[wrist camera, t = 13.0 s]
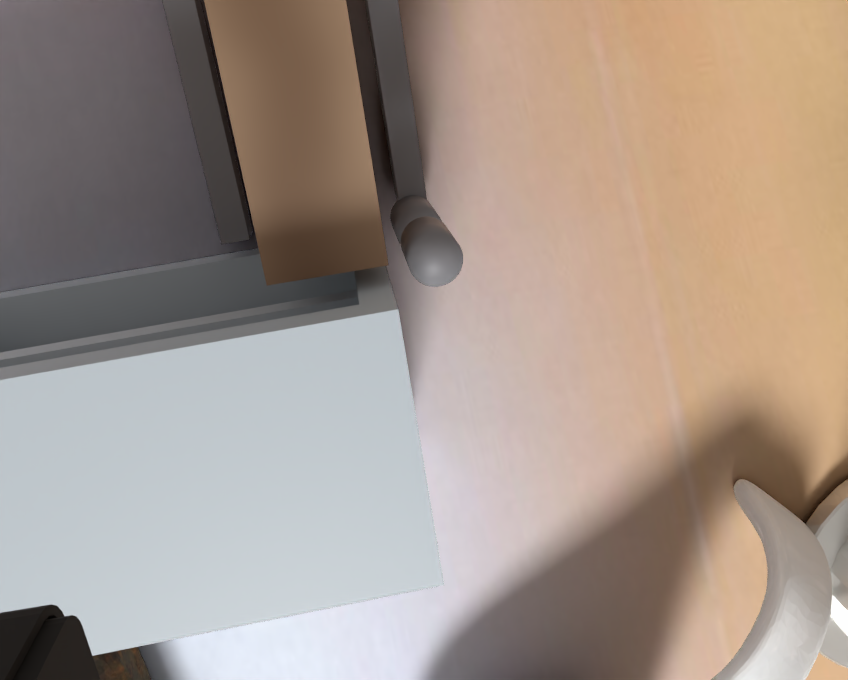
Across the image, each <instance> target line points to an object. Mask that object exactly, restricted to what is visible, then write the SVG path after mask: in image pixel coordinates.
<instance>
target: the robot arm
mask: <svg viewBox="0 0 848 680" xmlns="http://www.w3.org/2000/svg"><path fill="white" fill-rule="evenodd" d="M806 525H807V526H808V527H809V529H810V530H811V531H812V532H813V534H814V535H815V536H816V538H817V539H818V541H819V543H820V544H821V546H822V548H823V550H824V552H825V555H826V558H827V561H828V564H829V568H830V572H831V579H832V606H831V615H830V619H829V624H828V627H827V631H826V634H825V637H824V640H823V643H822V646H821V648H820V651H819V652H820V653H821V654H822V655H823V656H824V657H826V658H828V659H829V660H831V661H833V662H834V663H836V664H838V665H840V666H843V667H846V668H848V479H847V480H845V481H844V482H843V483H841V484H840V485H839V486H838V487H836V488H835V489H834V490H833V492H832V493H831V494H830V495H829V496H828V497H827V498H826V499H825V500H824V501H823V502H822V503H821V504H820V505H819V506H818V507H817V509H816V510H815V511H814V513H813V514H812V516H811V517H810V518H809V520H808V521H807V522H806ZM0 680H100V677H99V674H98V671H97V668H96V665H95V662H94V659H93V656H92V653H91V650H90V647H89V644H88V641H87V638H86V635H85V632H84V629H83V626H82V624H81V622H80V620H79V619H78V618H77V617H76V616H73V615H70V616H64V614H63V612H62V611H61V609H60V608H59V607H58V606H56V605H52V604H51V605H45V606H39V607H32V608H26V609H20V610H14V611H8V612H2V613H0Z"/></svg>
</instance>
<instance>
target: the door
mask: <svg viewBox="0 0 848 680" xmlns="http://www.w3.org/2000/svg"><path fill="white" fill-rule="evenodd" d="M204 3H205V7H206V12H207V16H208V21H209V25H210V30H211V34H212V39H213V43H214V48H215V53H216V57H217V62H218V66H219V71H220V75H221V80H222V84H223V89H224V94H225V98H226V103H227V107H228V112H229V116H230V121H231V125H232V130H233V135H234V139H235V144H236V148H237V153H238V157H239V162H240V166H241V171H242V175H243V180H244V185H245V189H246V194H247V198H248V203H249V207H250V212H251V216H252V221H253V226H254V230H255V235H256V239H257V244H258V248H259V253H260V257H261V262H262V267H263V271H264V276H265V280H266V285H267V286H268V285H274V284H280V283H286V282H292V281H298V280H304V279H310V278H316V277H322V276H328V275H334V274H340V273H345V272H351V271H357V270H363V269H369V268H375V267H381V266H387V265H388V259H387V253H386V247H385V240H384V234H383V228H382V222H381V215H380V209H379V203H378V197H377V190H376V184H375V178H374V172H373V165H372V159H371V153H370V147H369V140H368V134H367V128H366V122H365V116H364V109H363V103H362V97H361V91H360V84H359V78H358V72H357V66H356V59H355V53H354V47H353V41H352V34H351V28H350V22H349V16H348V10H347V3H346V0H204Z"/></svg>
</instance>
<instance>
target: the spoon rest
mask: <svg viewBox="0 0 848 680" xmlns="http://www.w3.org/2000/svg"><path fill="white" fill-rule="evenodd" d="M734 494H735V498H736V500H737V502H738V503H739V505H740V507H741V508H742V510H743V511H744V513H745V514H746V516H747V517H748V519H749V520H750V521H751V523H752V525H753V526H754V528H755V529H756V531H757V533H758V535H759V536H760V538H761V541H762V543H763V547H764V550H765V554H766V559H767V567H768V578H767V589H766V594H765V598H764V601H763V604H762V607H761V610H760V613H759V615H758V617H757V619H756V621H755V623H754V625H753V627H752V629H751V631H750V633H749V635H748V636H747V638H746V640H745V641H744V643H743V645H742V646H741V648H740V649H739V651H738V652H737V653H736V655H735V656H734V657H733V659H732V660H731V661H730V662H729V663H728V664H727V665H726V667H725V668H724V669H723V670H722V671H721V672H719V673H718V674H717V675H716V676H715V677H714V678H712V679H711V680H805V679H806V678H807V676H808V674H809V672H810V670H811V668H812V666H813V664H814V662H815V660H816V658H817V655H818V653H819V651H820V648H821V646H822V643H823V640H824V637H825V634H826V631H827V627H828V624H829V619H830V615H831V606H832V579H831V572H830V568H829V564H828V561H827V558H826V555H825V552H824V550H823V548H822V546H821V544H820V543H819V541H818V539H817V538H816V536H815V535H814V534H813V532H812V531H811V530H810V529H809V527H808V526H807V525H806V524H805V523H804V522H803V521H801V520H800V519H799V518H798V517H797V516H795V515H794V514H793V513H792V512H790V511H789V510H788V509H787V508H785V507H784V506H783V505H781V504H780V503H779V502H777V501H776V500H775V499H773V498H772V497H771V496H769V495H768V494H767V493H765V492H764V491H763V490H761V489H760V488H759V487H757V486H756V485H755V484H753V483H751V482H749V481H747V480H744V479H740V480H738V481H737V482H736V483H735V485H734Z"/></svg>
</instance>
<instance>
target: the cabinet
mask: <svg viewBox="0 0 848 680" xmlns="http://www.w3.org/2000/svg"><path fill="white" fill-rule="evenodd" d="M162 2H163V6H164V10H165V14H166V18H167V22H168V26H169V31H170V35H171V39H172V43H173V47H174V51H175V55H176V59H177V63H178V67H179V72H180V76H181V80H182V84H183V88H184V92H185V96H186V100H187V104H188V109H189V113H190V117H191V121H192V125H193V129H194V133H195V137H196V141H197V145H198V150H199V154H200V158H201V162H202V166H203V170H204V174H205V178H206V182H207V187H208V191H209V195H210V199H211V203H212V207H213V211H214V215H215V219H216V223H217V228H218V232H219V236H220V240H221V244H226V243H232V242H238V241H244V240H250V237H251V234H252V231H253V229H252V225H251V220H250V216H249V212H248V207H247V203H246V198H245V194H244V190H243V185H242V181H241V176H240V172H239V168H238V163H237V159H236V154H235V150H234V146H233V141H232V137H231V132H230V128H229V124H228V119H227V115H226V110H225V106H224V102H223V97H222V93H221V88H220V84H219V80H218V75H217V71H216V66H215V62H214V58H213V53H212V49H211V44H210V40H209V36H208V31H207V27H206V22H205V18H204V14H203V9H202V5H201V1H200V0H162ZM365 5H366V12H367V18H368V24H369V31H370V37H371V43H372V50H373V56H374V62H375V69H376V75H377V81H378V87H379V94H380V100H381V106H382V113H383V119H384V125H385V132H386V138H387V144H388V151H389V157H390V163H391V169H392V176H393V182H394V188H395V195H396V202H395V204H394V205H393V207H392V209H391V214H390V219H391V223H392V226H393V229H394V231H395V234H396V236H397V239H398V241H399V243H400V244H401V248H402V251H403V253H404V256H405V258H406V261H407V263H408V266H409V268H410V271H411V273H412V275H413V276H414V277H415V279H416V280H418V281H419V282H420V283H422V284H424V285H427V286H431V287H438V286H443V285H446V284H448V283H450V282H451V281H453V280H454V279H455V278H456V277H457V275H458V274H459V272H460V270H461V268H462V264H463V254H462V250H461V248H460V246H459V244H458V243H457V241H456V240H455V239H454V237H453V236H452V234H451V233H450V231H449V230H448V229H447V227H446V226H445V224H444V223H443V222H442V221H441V219H440V217H439V216H438V214H437V213H436V211H435V210H434V208H433V207H432V206H431V204H430V203H429V201H428V200H427V197H426V190H425V184H424V177H423V170H422V163H421V156H420V149H419V142H418V135H417V128H416V121H415V114H414V107H413V101H412V94H411V87H410V80H409V73H408V66H407V59H406V52H405V45H404V38H403V31H402V24H401V18H400V11H399V4H398V0H365ZM443 585H444V581H443V575H442V569H441V563H440V557H439V551H438V545H437V539H436V533H435V527H434V521H433V515H432V509H431V503H430V497H429V491H428V485H427V479H426V473H425V467H424V461H423V455H422V449H421V443H420V437H419V431H418V425H417V419H416V413H415V407H414V401H413V394H412V388H411V382H410V376H409V370H408V364H407V358H406V352H405V346H404V340H403V334H402V328H401V322H400V316H399V310H398V306H397V303H396V300H395V296H394V293H393V290H392V286H391V283H390V279H389V276H388V273H387V269H386V266H381V267H375V268H369V269H363V270H357V271H351V272H345V273H340V274H334V275H328V276H322V277H316V278H310V279H304V280H298V281H292V282H286V283H280V284H274V285H268V286H267V285H266V280H265V276H264V271H263V267H262V262H261V257H260V253H259V248H257V249H251V250H245V251H239V252H233V253H228V254H222V255H216V256H210V257H204V258H198V259H193V260H187V261H181V262H175V263H169V264H163V265H157V266H152V267H146V268H140V269H134V270H128V271H122V272H117V273H111V274H105V275H99V276H93V277H87V278H81V279H76V280H70V281H64V282H58V283H52V284H46V285H41V286H35V287H29V288H23V289H17V290H11V291H5V292H0V613H2V612H8V611H14V610H20V609H26V608H32V607H39V606H45V605H51V604H52V605H56V606H58V607H59V608H60V609H61V611H62V612H63V614H64V616H70V615H73V616H76V617H77V618H78V619H79V620H80V622H81V624H82V626H83V629H84V632H85V635H86V638H87V641H88V644H89V647H90V650H91V653H92V656H94V655H99V654H104V653H109V652H114V651H119V650H124V649H129V648H134V647H139V646H144V645H149V644H154V643H159V642H164V641H169V640H174V639H179V638H184V637H189V636H194V635H199V634H204V633H209V632H213V631H218V630H223V629H228V628H233V627H238V626H243V625H248V624H253V623H258V622H263V621H268V620H273V619H278V618H283V617H288V616H293V615H298V614H303V613H308V612H313V611H318V610H323V609H328V608H333V607H338V606H343V605H348V604H353V603H358V602H363V601H368V600H373V599H378V598H383V597H388V596H393V595H398V594H403V593H408V592H413V591H418V590H423V589H428V588H433V587H438V586H443Z"/></svg>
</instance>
